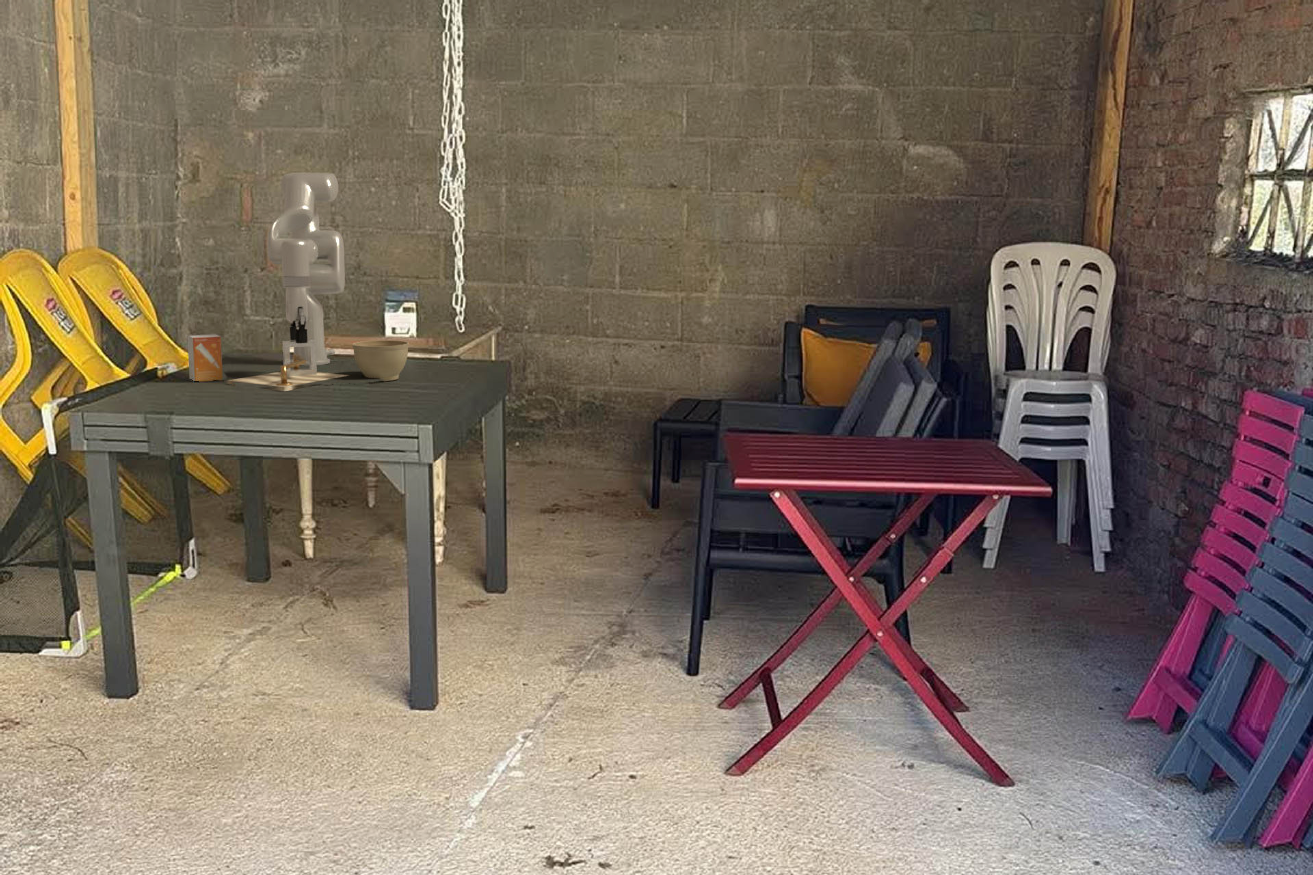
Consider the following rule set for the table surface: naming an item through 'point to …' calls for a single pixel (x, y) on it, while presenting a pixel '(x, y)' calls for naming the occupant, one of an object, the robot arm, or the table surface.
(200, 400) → the table surface
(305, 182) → the robot arm
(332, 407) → the table surface
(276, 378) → the base board
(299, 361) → the brass faucet
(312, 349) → the white square frame
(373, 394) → the table surface
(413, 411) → the table surface
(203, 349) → the small box
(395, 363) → the planter bowl
